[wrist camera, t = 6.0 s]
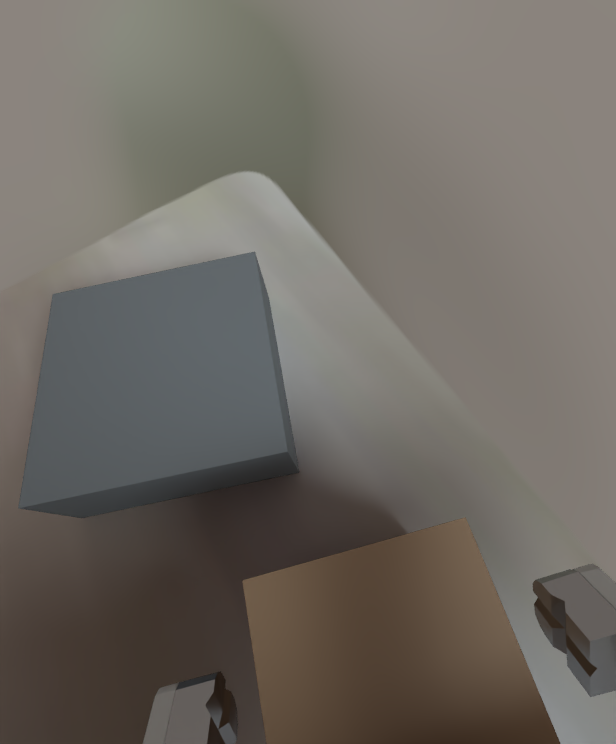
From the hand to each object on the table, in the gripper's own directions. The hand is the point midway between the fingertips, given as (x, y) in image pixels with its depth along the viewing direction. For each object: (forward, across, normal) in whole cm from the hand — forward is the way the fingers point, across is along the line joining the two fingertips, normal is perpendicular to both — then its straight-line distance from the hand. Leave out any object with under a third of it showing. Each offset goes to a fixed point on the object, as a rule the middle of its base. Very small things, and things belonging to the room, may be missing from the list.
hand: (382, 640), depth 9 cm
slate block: (+12, +6, -4) cm, 14 cm away
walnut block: (+4, 0, +4) cm, 5 cm away
